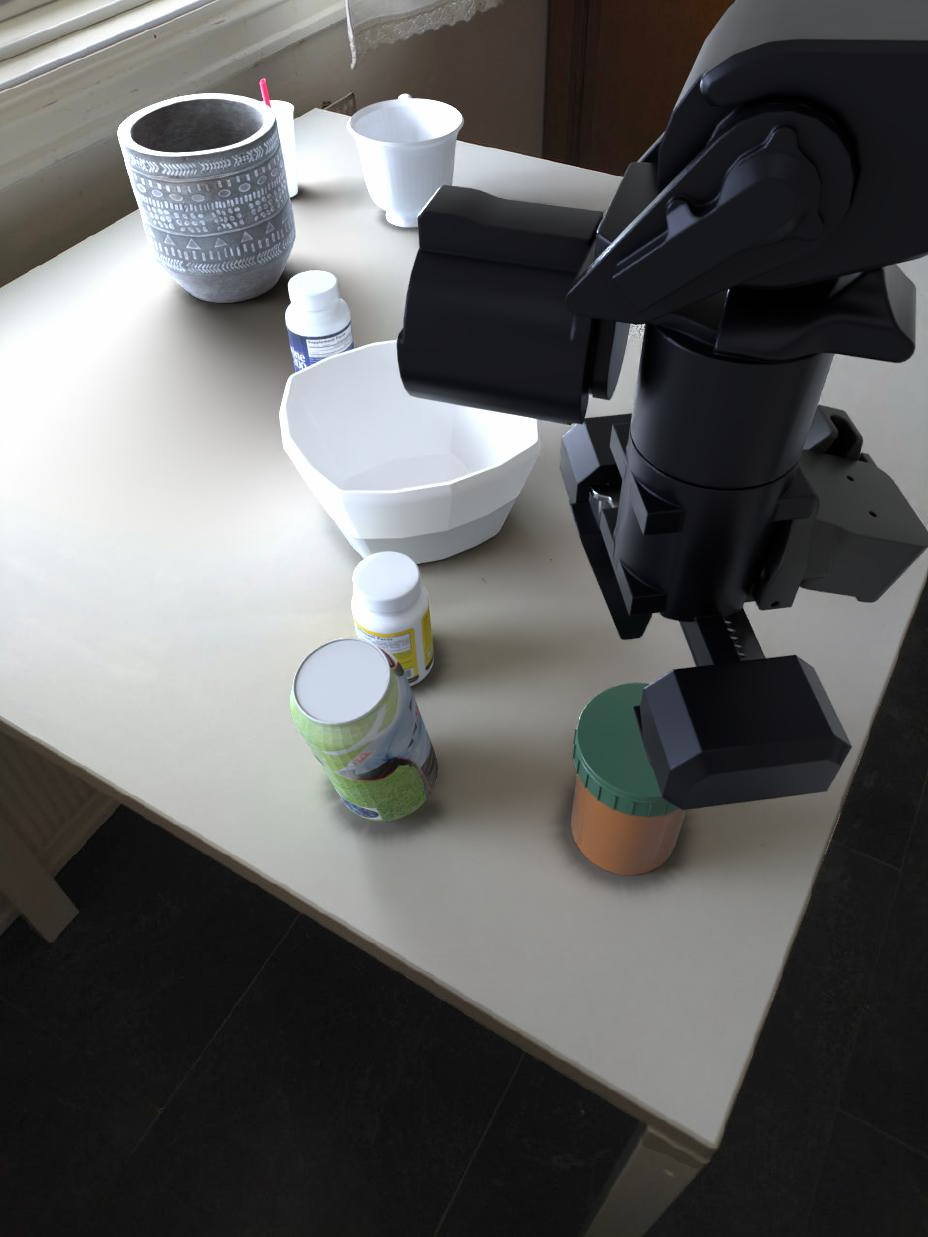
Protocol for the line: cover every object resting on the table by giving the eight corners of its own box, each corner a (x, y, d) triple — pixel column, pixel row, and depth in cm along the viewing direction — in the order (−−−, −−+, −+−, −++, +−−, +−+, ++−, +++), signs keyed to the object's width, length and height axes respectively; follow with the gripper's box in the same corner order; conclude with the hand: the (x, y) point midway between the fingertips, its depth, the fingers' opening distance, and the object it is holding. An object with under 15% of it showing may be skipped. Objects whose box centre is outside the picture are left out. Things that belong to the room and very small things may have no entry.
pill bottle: (294, 372, 81) (275, 270, 74) (353, 363, 82) (339, 261, 75) (302, 407, 78) (283, 304, 70) (364, 397, 79) (350, 293, 71)
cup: (267, 206, 103) (246, 91, 94) (254, 187, 106) (232, 74, 97) (312, 196, 104) (295, 82, 95) (298, 178, 107) (280, 66, 98)
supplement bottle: (401, 623, 62) (390, 534, 55) (449, 661, 59) (444, 573, 53) (347, 662, 59) (329, 575, 53) (394, 704, 57) (382, 617, 51)
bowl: (483, 416, 76) (482, 315, 69) (571, 555, 65) (580, 452, 58) (277, 467, 73) (254, 366, 65) (334, 623, 62) (313, 522, 55)
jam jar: (688, 799, 52) (716, 715, 46) (662, 891, 49) (688, 814, 42) (588, 766, 54) (602, 680, 47) (556, 853, 50) (566, 772, 44)
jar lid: (720, 727, 47) (727, 704, 45) (690, 838, 43) (697, 817, 41) (594, 688, 49) (598, 665, 47) (554, 791, 45) (556, 770, 43)
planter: (223, 332, 86) (182, 171, 74) (134, 283, 92) (84, 128, 81) (331, 272, 93) (309, 116, 81) (241, 231, 99) (209, 81, 88)
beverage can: (460, 777, 54) (453, 651, 44) (373, 866, 50) (347, 749, 41) (384, 720, 56) (363, 591, 47) (297, 801, 53) (256, 678, 44)
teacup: (461, 178, 106) (459, 85, 99) (468, 239, 97) (467, 140, 89) (359, 183, 106) (349, 90, 99) (356, 244, 96) (344, 146, 89)
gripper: (1104, 614, 25) (907, 866, 37) (835, 274, 37) (751, 546, 49) (712, 661, 24) (639, 903, 36) (568, 299, 36) (549, 568, 48)
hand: (652, 703), depth 42 cm, fingers open, 8 cm apart
